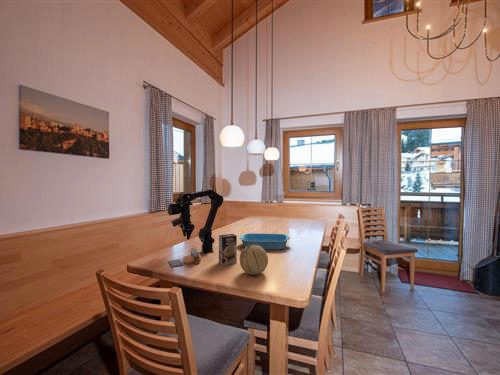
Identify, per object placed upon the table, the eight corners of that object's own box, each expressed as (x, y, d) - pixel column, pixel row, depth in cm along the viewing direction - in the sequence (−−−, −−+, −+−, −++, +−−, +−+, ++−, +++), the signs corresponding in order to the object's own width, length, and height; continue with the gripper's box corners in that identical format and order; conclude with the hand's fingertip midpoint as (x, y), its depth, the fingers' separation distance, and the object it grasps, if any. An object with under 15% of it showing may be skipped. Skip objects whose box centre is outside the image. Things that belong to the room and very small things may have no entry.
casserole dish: (236, 250, 161) (236, 239, 161) (241, 241, 183) (241, 232, 183) (291, 251, 157) (291, 241, 156) (289, 242, 179) (289, 233, 178)
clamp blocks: (194, 258, 143) (194, 252, 142) (199, 263, 134) (199, 256, 134) (190, 259, 141) (190, 252, 141) (195, 264, 133) (195, 257, 133)
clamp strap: (194, 251, 143) (194, 247, 143) (199, 256, 134) (199, 252, 134) (190, 251, 142) (190, 248, 142) (195, 256, 133) (195, 252, 133)
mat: (179, 260, 140) (179, 259, 140) (183, 265, 132) (183, 264, 132) (168, 262, 137) (168, 260, 137) (172, 267, 129) (172, 266, 129)
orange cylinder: (198, 259, 141) (198, 253, 141) (200, 262, 138) (201, 255, 137) (183, 262, 137) (183, 255, 136) (185, 265, 133) (185, 258, 133)
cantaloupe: (274, 273, 120) (274, 244, 120) (254, 282, 110) (253, 250, 109) (253, 265, 131) (253, 239, 130) (233, 273, 120) (233, 244, 120)
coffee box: (222, 265, 131) (222, 237, 130) (218, 262, 137) (218, 234, 136) (237, 263, 135) (237, 235, 135) (232, 259, 141) (232, 233, 140)
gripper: (169, 212, 149) (170, 236, 150) (174, 216, 133) (176, 243, 133) (186, 210, 154) (187, 234, 155) (194, 214, 138) (195, 240, 139)
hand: (186, 238), depth 145 cm, fingers open, 9 cm apart
